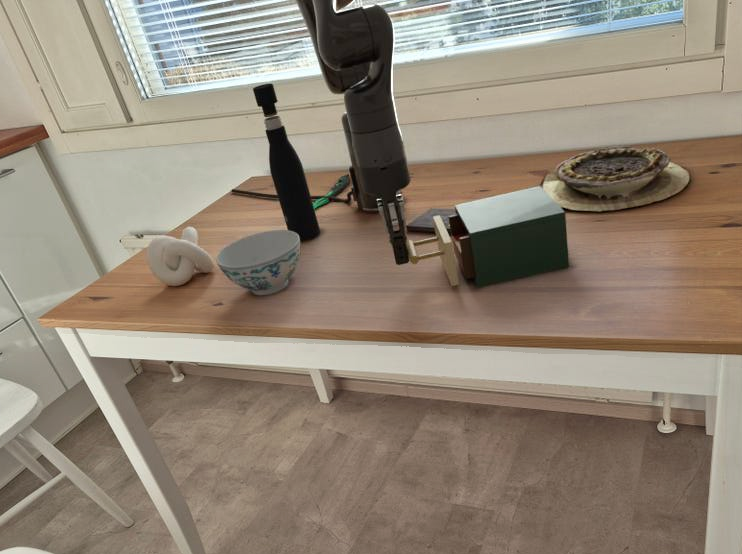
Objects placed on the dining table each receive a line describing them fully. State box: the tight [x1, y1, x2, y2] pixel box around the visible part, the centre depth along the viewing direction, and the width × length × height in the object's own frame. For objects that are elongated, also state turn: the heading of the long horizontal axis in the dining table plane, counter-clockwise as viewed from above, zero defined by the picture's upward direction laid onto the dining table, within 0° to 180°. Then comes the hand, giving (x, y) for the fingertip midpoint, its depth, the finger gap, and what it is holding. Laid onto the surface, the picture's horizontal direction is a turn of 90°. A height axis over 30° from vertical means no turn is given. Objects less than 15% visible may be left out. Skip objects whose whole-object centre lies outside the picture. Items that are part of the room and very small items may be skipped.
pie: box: [538, 145, 690, 212], centre depth 130 cm, size 28×27×5 cm
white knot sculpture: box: [145, 226, 215, 287], centre depth 133 cm, size 11×12×9 cm
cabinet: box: [454, 185, 570, 288], centre depth 109 cm, size 15×14×9 cm
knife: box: [312, 173, 351, 210], centre depth 162 cm, size 23×1×5 cm
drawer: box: [406, 214, 476, 287], centre depth 109 cm, size 19×12×7 cm, turn 96°
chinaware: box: [215, 229, 301, 296], centre depth 120 cm, size 15×15×8 cm
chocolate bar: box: [405, 207, 456, 235], centre depth 129 cm, size 9×1×18 cm
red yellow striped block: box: [451, 233, 469, 270], centre depth 110 cm, size 8×3×3 cm, turn 7°
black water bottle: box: [252, 83, 321, 243], centre depth 133 cm, size 6×6×30 cm
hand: (402, 262), depth 110 cm, fingers closed
